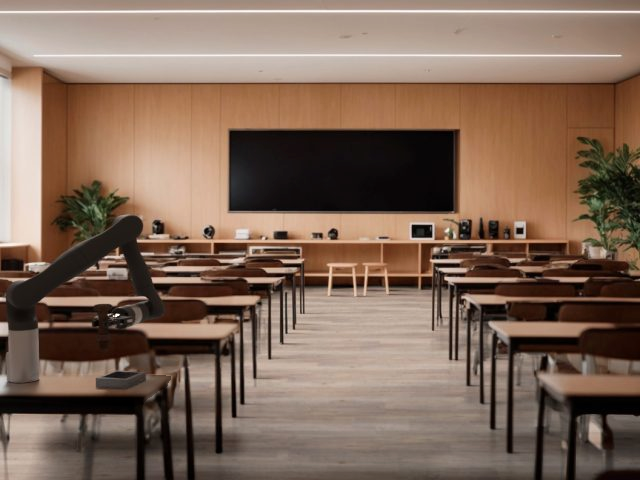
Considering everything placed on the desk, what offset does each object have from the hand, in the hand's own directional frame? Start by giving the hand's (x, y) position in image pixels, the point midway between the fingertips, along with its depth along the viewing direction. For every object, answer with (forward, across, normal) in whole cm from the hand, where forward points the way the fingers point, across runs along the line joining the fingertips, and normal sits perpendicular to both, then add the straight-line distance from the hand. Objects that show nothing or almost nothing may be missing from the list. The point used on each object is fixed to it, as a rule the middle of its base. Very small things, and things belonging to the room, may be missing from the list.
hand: (98, 324), depth 227 cm
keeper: (-2, +6, +20) cm, 21 cm away
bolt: (-3, 0, +9) cm, 10 cm away
